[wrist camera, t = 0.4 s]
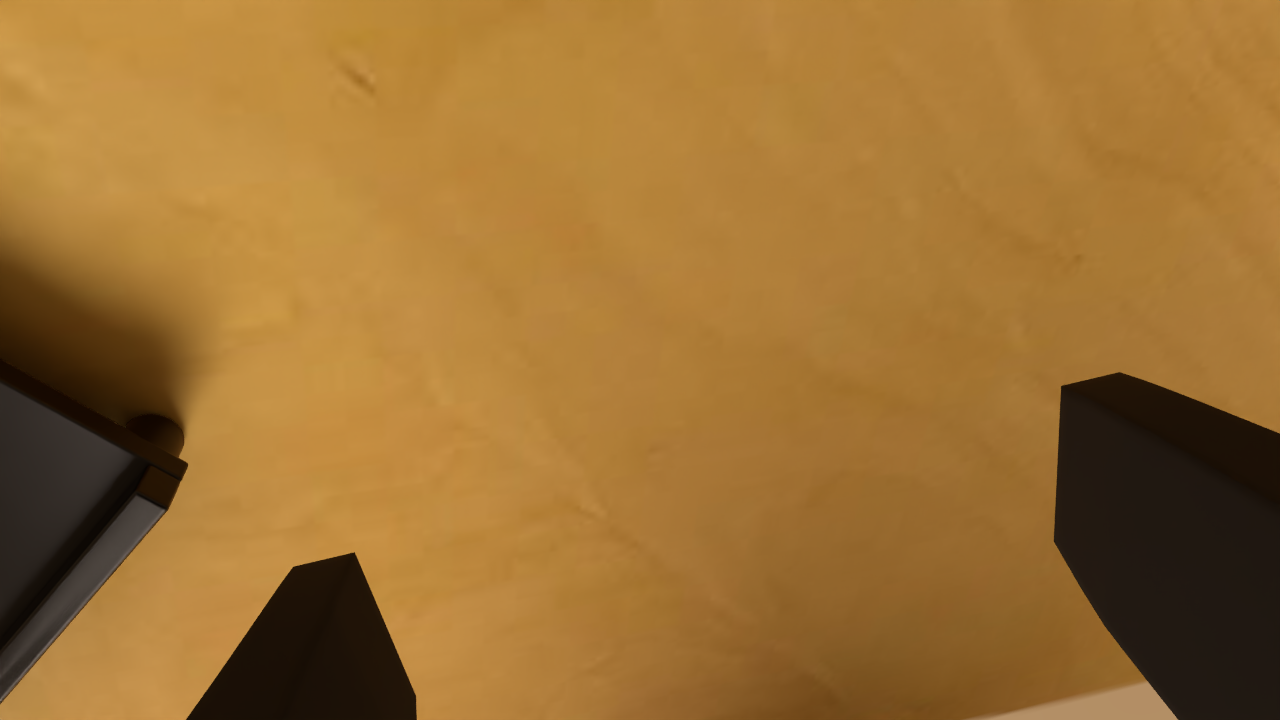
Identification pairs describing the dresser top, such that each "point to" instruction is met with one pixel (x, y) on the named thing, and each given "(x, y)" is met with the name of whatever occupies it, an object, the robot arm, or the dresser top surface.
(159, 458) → the tray
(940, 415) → the dresser top surface
